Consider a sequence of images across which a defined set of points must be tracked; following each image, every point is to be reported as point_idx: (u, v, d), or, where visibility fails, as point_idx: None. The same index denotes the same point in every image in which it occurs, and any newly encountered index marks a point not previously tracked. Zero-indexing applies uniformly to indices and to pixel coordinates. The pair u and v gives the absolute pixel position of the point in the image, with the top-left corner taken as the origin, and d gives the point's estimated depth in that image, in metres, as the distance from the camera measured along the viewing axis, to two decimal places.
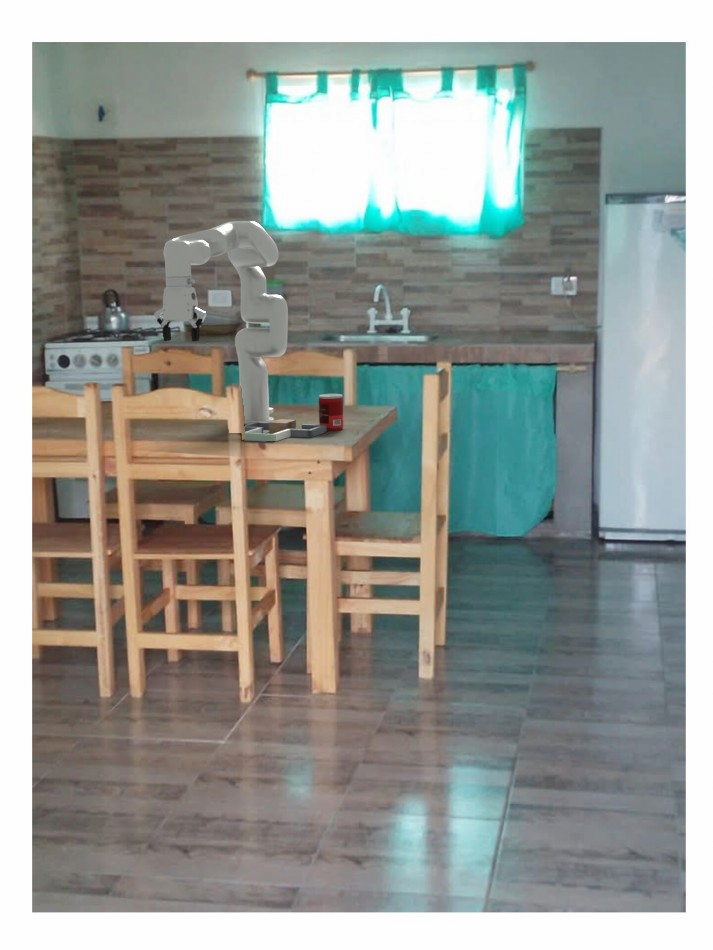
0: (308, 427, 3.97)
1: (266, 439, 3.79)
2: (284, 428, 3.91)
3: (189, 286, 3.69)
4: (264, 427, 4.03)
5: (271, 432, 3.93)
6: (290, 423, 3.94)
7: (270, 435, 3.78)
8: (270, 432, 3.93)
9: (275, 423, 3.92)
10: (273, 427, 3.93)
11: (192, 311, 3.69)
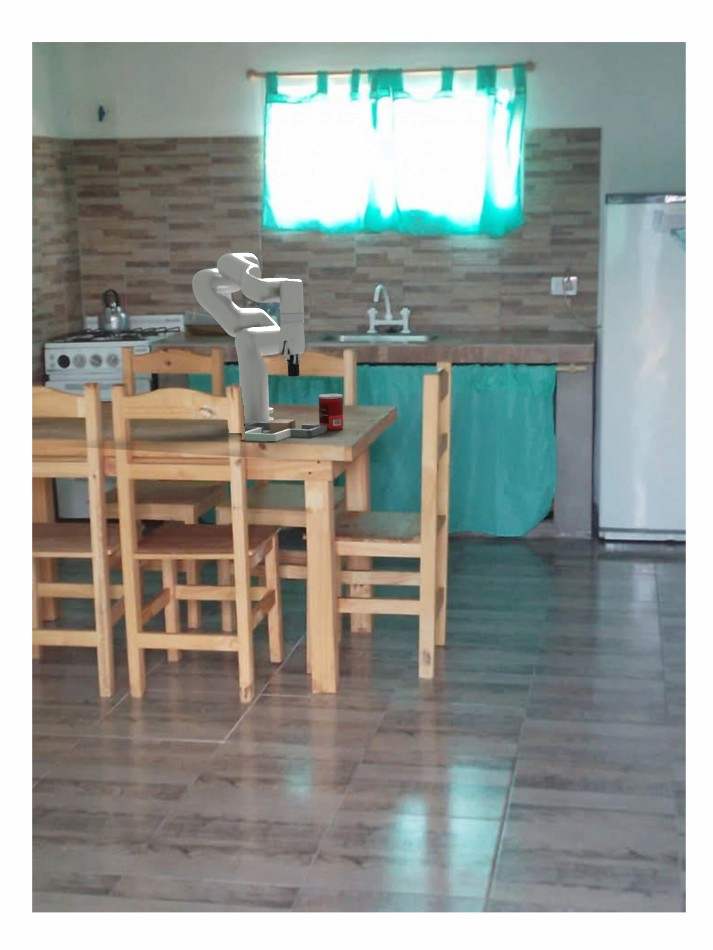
0: (308, 427, 3.97)
1: (266, 439, 3.79)
2: (285, 428, 3.91)
3: None
4: (264, 427, 4.03)
5: (272, 432, 3.93)
6: (291, 423, 3.94)
7: (270, 435, 3.78)
8: (271, 432, 3.93)
9: (276, 423, 3.92)
10: (274, 427, 3.92)
11: None
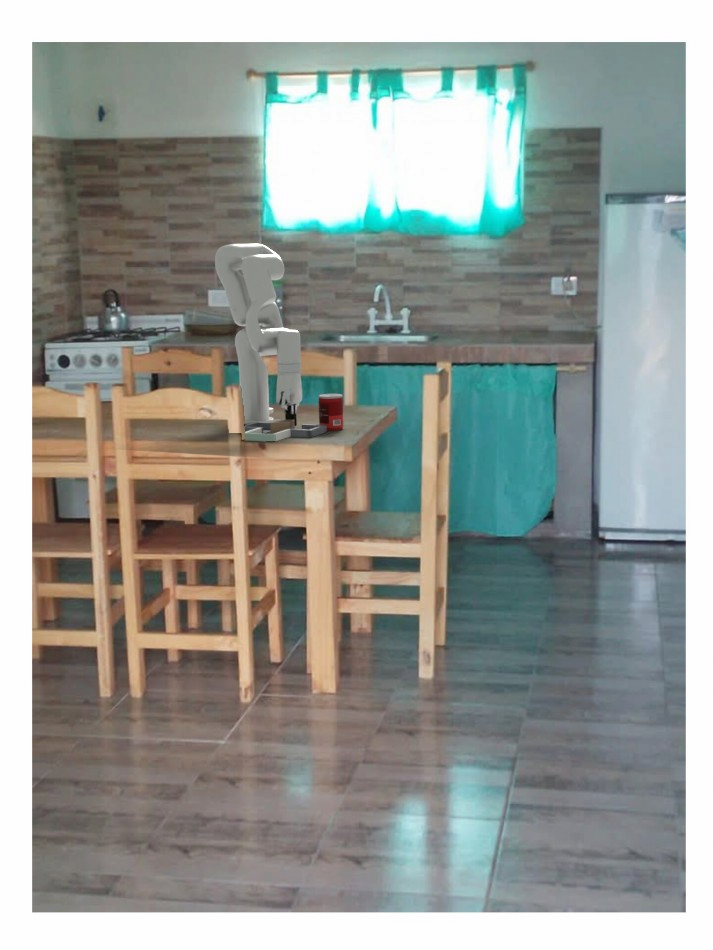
0: (308, 427, 3.97)
1: (266, 439, 3.79)
2: (287, 428, 3.91)
3: None
4: (264, 427, 4.03)
5: (273, 432, 3.93)
6: (291, 423, 3.94)
7: (270, 435, 3.78)
8: (271, 432, 3.93)
9: (277, 423, 3.92)
10: (275, 428, 3.92)
11: None
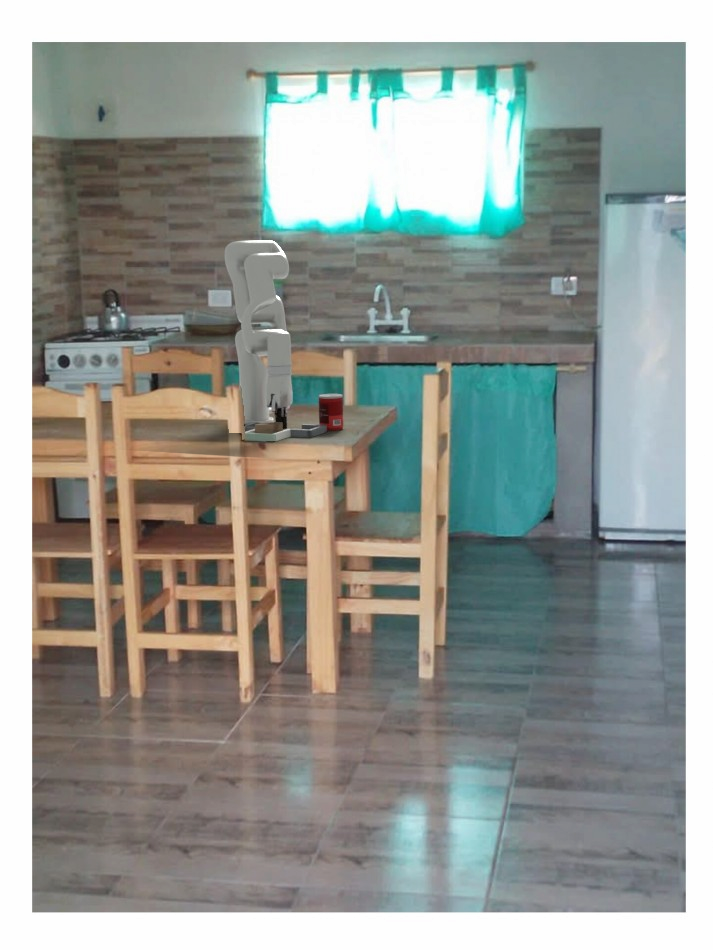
0: (308, 427, 3.97)
1: (266, 439, 3.79)
2: (270, 431, 3.86)
3: None
4: None
5: None
6: (276, 425, 3.88)
7: (270, 435, 3.78)
8: None
9: (261, 425, 3.87)
10: (259, 430, 3.87)
11: None
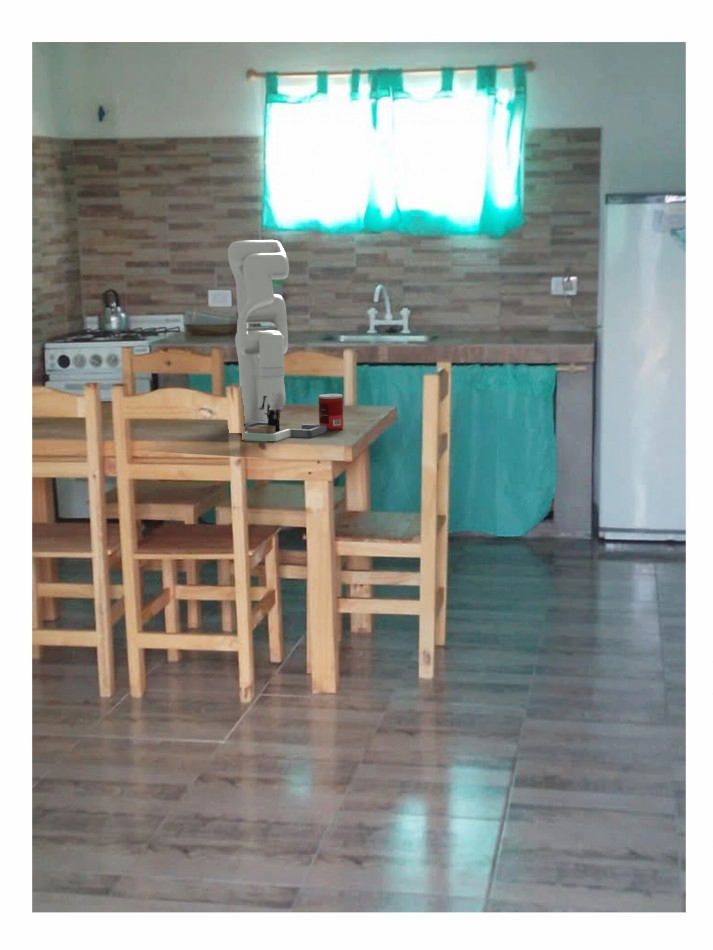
0: (308, 427, 3.97)
1: (266, 439, 3.79)
2: None
3: None
4: None
5: None
6: (269, 429, 3.84)
7: (270, 435, 3.78)
8: None
9: (253, 429, 3.83)
10: None
11: None
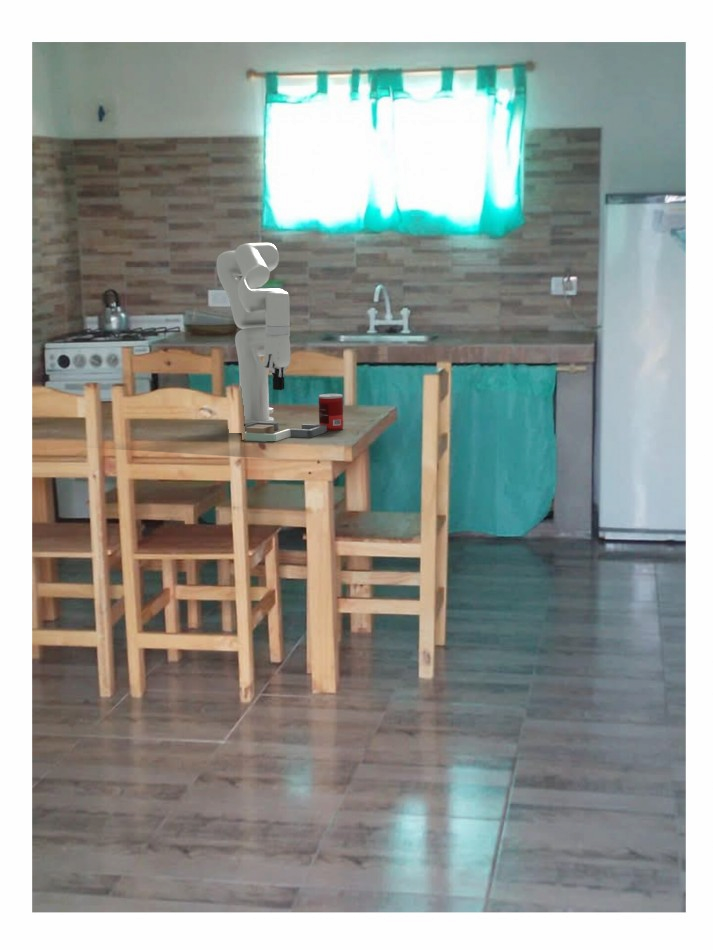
0: (308, 427, 3.97)
1: (266, 439, 3.79)
2: None
3: None
4: None
5: None
6: (268, 428, 3.83)
7: (270, 435, 3.78)
8: None
9: (252, 428, 3.82)
10: None
11: None
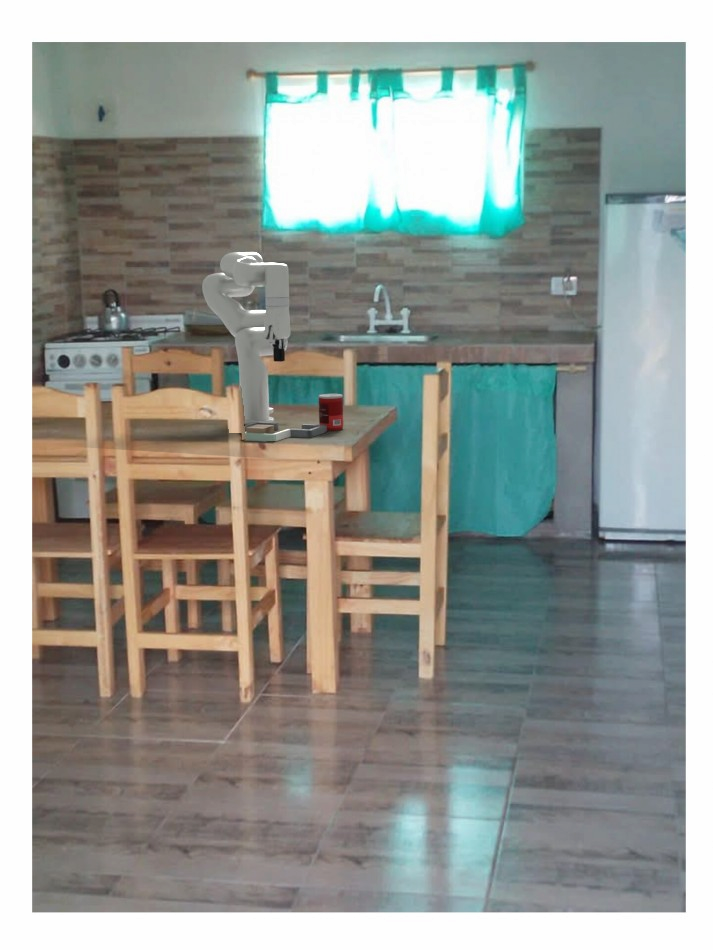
0: (308, 427, 3.97)
1: (266, 439, 3.79)
2: None
3: None
4: None
5: None
6: (268, 428, 3.83)
7: (270, 435, 3.78)
8: None
9: (252, 428, 3.82)
10: None
11: None
